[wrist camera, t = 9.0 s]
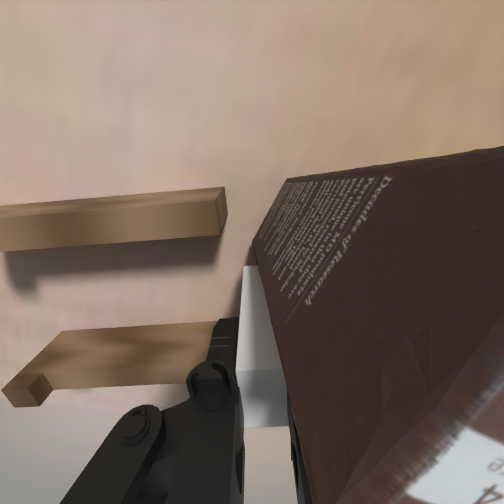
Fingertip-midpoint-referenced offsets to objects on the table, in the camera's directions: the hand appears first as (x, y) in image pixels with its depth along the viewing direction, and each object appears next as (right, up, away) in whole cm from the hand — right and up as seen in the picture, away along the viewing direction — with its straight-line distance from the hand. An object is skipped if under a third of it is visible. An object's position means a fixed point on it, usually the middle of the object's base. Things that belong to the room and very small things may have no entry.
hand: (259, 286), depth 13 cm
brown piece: (-8, 0, +2) cm, 8 cm away
